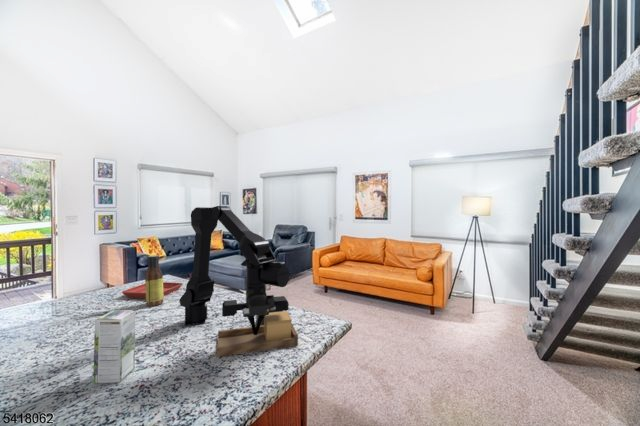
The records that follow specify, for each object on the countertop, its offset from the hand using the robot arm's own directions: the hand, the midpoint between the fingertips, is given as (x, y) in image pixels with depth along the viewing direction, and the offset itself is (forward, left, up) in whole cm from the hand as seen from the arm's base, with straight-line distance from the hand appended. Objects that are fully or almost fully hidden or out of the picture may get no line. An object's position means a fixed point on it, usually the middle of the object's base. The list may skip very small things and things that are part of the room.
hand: (255, 334), depth 82 cm
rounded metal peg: (+6, +12, 0) cm, 14 cm away
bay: (0, 0, -2) cm, 2 cm away
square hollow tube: (+6, +12, -2) cm, 14 cm away
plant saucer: (-40, +62, -3) cm, 74 cm away
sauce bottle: (-37, +45, -2) cm, 58 cm away
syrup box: (-33, -8, -2) cm, 34 cm away
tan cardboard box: (+7, 0, -2) cm, 7 cm away
